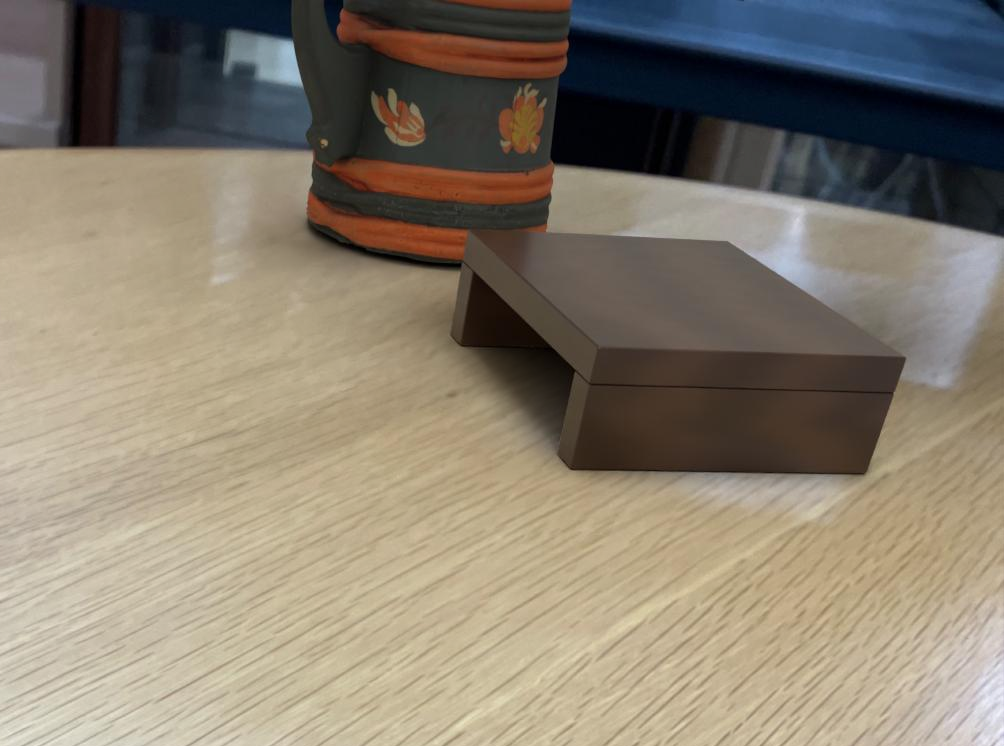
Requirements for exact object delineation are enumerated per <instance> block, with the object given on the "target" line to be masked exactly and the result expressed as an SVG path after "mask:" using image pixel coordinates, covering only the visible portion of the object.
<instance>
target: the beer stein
mask: <svg viewBox="0 0 1004 746" xmlns="http://www.w3.org/2000/svg"><path fill="white" fill-rule="evenodd" d="M572 3H573V0H343V1H342V5H343V7H342V9H341V11H340V13H339V19H340V22H339V24H338V25H337V27H336V35H337V37H338V39H337V38H336V37H335V35H334V34H333V32H332V30H331V27H330V24H329V21H328V19H327V13H326V9H325V0H291V13H290V16H291V18H290V19H291V32H292V34H291V35H292V42H293V43H292V44H293V50H294V56H295V60H296V64H297V68H298V74H299V77H300V80H301V83H302V87H303V91H304V93H305V96H306V99H307V103H308V106H309V110H310V113H311V119H312V120H311V124H310V125H309V127H308V128H307V130H306V132H305V138H306V141H307V143H308V145H309V146H310V148H311V149H312V164H311V172H310V173H311V179H312V183H311V185H310V187H309V189H308V192H307V193H308V194H307V202H306V205H307V206H306V216H307V221H308V222H309V224H310V225H311V226H312V227H314V228H315V229H316V230H317V231H320V232H321V233H323V234H325V235H327V236H329V237H331V238H333V239H335V240H338V242H339V243H340V242H341V243H344V244H345V243H346V245H347V244H353V245H354V246H355V247H356V248H357V246H358V247H359V248H362V249H366V251H370V252H373V253H378V254H387V255H389V256H397V257H398V256H399V257H404V258H408V259H411V260H416V261H422V262H428V263H429V262H430V263H439V264H462V262H463V256H464V249H465V243H466V237H467V231H468V229H470V228H471V229H492V230H512V231H532V232H547V228H548V220H549V217H550V204H551V202H552V198H553V196H552V192H551V191H552V188H553V185H554V177H553V175H554V173H555V164H554V162H553V160H552V158H551V151H552V141H553V134H554V125H555V116H556V106H557V98H558V90H559V80H560V75H561V74H562V73H563V72H564V71H565V69H566V67H567V64H568V58H567V52H568V50H569V46H570V45H569V43H570V42H569V40H568V37H569V33H570V22H571V18H572V12H571V5H572Z"/></svg>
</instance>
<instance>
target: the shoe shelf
mask: <svg viewBox="0 0 1004 746" xmlns="http://www.w3.org/2000/svg"><path fill="white" fill-rule="evenodd" d="M454 303H455V304H454V309H453V316H452V321H451V328H450V335H451V336H452V337H453V339H454V340H455V341H456V342H457V343H458V345H460V346H472V347H473V346H474V347H475V346H476V347H503V348H504V347H505V348H506V347H507V348H533V349H534V348H537V347H539V348H537V349H553V350H555V351H556V353H557V354H559V355H560V356H561V358H563V360H564V361H566V362H567V363H568V364H569V365H570V367H572V368H573V369H574V370H575V371H574V374H573V379H572V383H571V388H570V391H569V397H568V400H567V405H566V411H565V415H564V419H563V425H562V429H561V434H560V438H559V443H558V448H557V452H556V453H557V455H558V456H559V457H560V459H562V460H563V462H564V463H565V464H566V466H568V467H569V468H570V469H571V470H616V471H617V470H621V471H622V470H623V471H625V470H627V471H631V470H632V471H679V472H680V471H682V472H684V471H688V472H690V471H691V472H746V473H747V472H749V473H750V472H751V473H752V472H753V473H755V472H756V473H807V474H808V473H810V474H811V473H812V474H814V473H815V474H867V473H868V470H869V467H870V464H871V461H872V458H873V456H874V453H875V450H876V448H877V445H878V441H879V439H880V436H881V433H882V430H883V428H884V425H885V421H886V419H887V416H888V414H889V410H890V407H891V405H892V402H893V399H894V396H895V392H896V390H897V386H898V384H899V382H900V378H901V376H902V373H903V370H904V367H905V364H906V363H907V356H905V355H904V354H902V353H901V352H899V351H897V350H896V349H894V348H893V347H891V346H890V345H888V344H886V343H885V342H883V341H882V340H880V339H879V338H878V337H876V336H874V335H873V334H872V333H870V332H868V331H866V329H864V328H862V327H860V326H859V325H858V324H856V323H854V322H853V321H851V320H850V319H849V318H847V317H845V316H844V315H842V314H841V313H839V312H838V311H836V310H834V309H833V308H831V307H830V306H828V305H827V304H825V303H824V302H823V301H821V300H819V299H817V298H816V297H814V296H813V295H811V294H810V293H809V292H807V291H805V290H803V289H802V288H801V287H799V286H797V285H796V284H795V283H793V282H792V281H790V280H788V279H787V278H785V277H784V276H782V275H780V274H779V273H778V272H776V271H774V270H773V269H772V268H770V267H769V266H767V265H766V264H764V263H762V262H761V261H759V260H757V259H756V258H754V257H753V256H751V255H750V254H749V253H747V252H745V251H744V250H742V249H741V248H739V247H737V246H736V245H734V244H733V243H732V242H729V240H713V239H712V240H711V239H695V238H694V239H693V238H676V237H675V238H671V237H653V236H652V237H650V236H635V235H634V236H633V235H632V236H631V235H611V234H594V233H593V234H590V233H571V232H551V231H550V232H549V231H546V232H532V231H512V230H492V229H471V228H470V229H468V231H467V237H466V243H465V249H464V256H463V262H462V263H461V267H460V273H459V279H458V286H457V291H456V297H455V302H454ZM542 347H543V348H542ZM547 347H548V348H547Z"/></svg>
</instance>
